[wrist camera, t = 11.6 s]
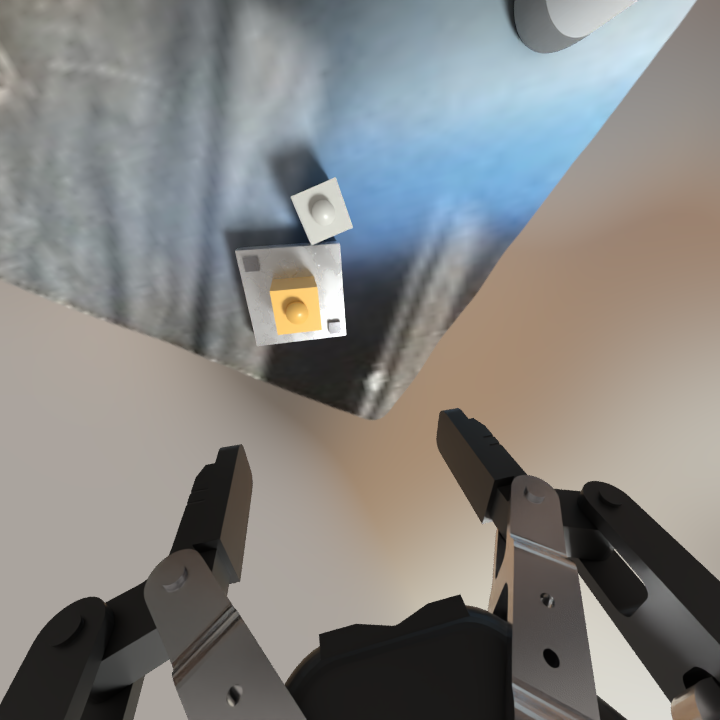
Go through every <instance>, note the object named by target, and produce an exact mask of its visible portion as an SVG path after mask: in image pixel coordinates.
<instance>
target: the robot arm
mask: <svg viewBox="0 0 720 720" xmlns="http://www.w3.org/2000/svg"><path fill="white" fill-rule="evenodd" d="M436 439H437V446H438V449H439V451H440V453H441V455H442V457H443V458H444V460H445V462H446V463H447V465H448V467H449V469H450V470H451V472H452V474H453V475H454V477H455V479H456V480H457V482H458V484H459V485H460V487H461V489H462V490H463V492H464V494H465V495H466V497H467V499H468V500H469V502H470V504H471V506H472V507H473V509H474V511H475V512H476V514H477V516H478V517H479V519H480V521H481V522H482V523H483V524H484V523H488V522H492V521H493V522H494V524H495V525H496V527H497V530H496V538H495V553H494V568H493V581H492V589H491V594H490V599H489V605H488V611H486V610H483V609H480V608H477V607H473V606H466V605H465V604H464V602H463V599H462V597H461V595H457V596H453V597H449V598H446V599H443V600H439V601H435V602H432V603H428V604H427V605H425V606H424V607H422V608H421V609H419V610H418V611H417V612H415V613H414V614H412V615H411V616H410V617H408V618H407V619H405V620H404V621H402V622H401V623H400V624H398V625H396V626H383V625H366V624H354V625H350V626H347V627H343V628H340V629H336V630H333V631H330V632H326V633H322V634H319V640H320V646H319V647H318V648H316V649H315V650H313V651H312V652H311V653H310V654H309V655H308V656H307V657H306V658H304V659H303V660H302V662H301V663H300V664H299V665H298V666H297V667H296V669H295V670H294V671H293V673H292V674H291V675H290V677H289V678H288V680H287V682H286V683H285V685H284V683H283V682H282V680H281V679H280V677H279V676H278V674H277V673H276V671H275V669H274V668H273V666H272V665H271V663H270V661H269V660H268V658H267V657H266V655H265V654H264V652H263V650H262V649H261V647H260V646H259V644H258V643H257V641H256V639H255V638H254V636H253V635H252V633H251V632H250V630H249V628H248V627H247V625H246V624H245V622H244V621H243V619H242V618H241V616H240V615H239V613H238V612H237V610H236V609H235V608H234V607H233V605H232V604H231V602H230V600H229V599H228V597H227V593H228V587H229V584H231V583H236V582H240V578H241V571H242V563H243V555H244V548H245V540H246V533H247V524H248V518H249V510H250V502H251V495H252V486H253V485H252V484H253V483H252V482H253V481H252V473H251V470H250V466H249V463H248V460H247V457H246V453H245V450H244V447H243V445H242V444H241V445H235V446H229V447H223V448H220V449H219V452H218V455H217V459H216V462H215V463H214V464H208V465H205V467H204V468H203V469H202V470H201V472H200V473H199V474H198V476H197V477H196V479H195V481H194V485H193V487H192V490H191V494H190V496H189V499H188V502H187V506H186V508H185V511H184V514H183V517H182V520H181V523H180V525H179V528H178V532H177V535H176V537H175V540H174V543H173V546H172V549H171V551H170V554H169V556H168V557H166V558H165V559H164V560H162V561H161V562H160V563H159V564H158V565H157V566H156V567H155V569H154V570H153V571H152V572H151V574H150V576H149V577H148V579H147V580H146V581H144V582H143V583H141V584H139V585H138V586H136V587H134V588H132V589H130V590H128V591H126V592H125V593H123V594H121V595H119V596H117V597H115V598H113V599H111V600H110V601H108V602H106V603H105V602H104V601H103V600H101V599H100V598H97V597H87V598H83V599H80V600H78V601H76V602H74V603H72V604H70V605H69V606H67V607H66V608H64V609H63V610H62V611H60V612H59V613H58V614H57V615H55V616H54V617H53V618H52V619H51V620H50V621H49V622H48V623H47V624H46V625H45V627H44V628H43V629H42V630H41V632H40V633H39V634H38V636H37V638H36V639H35V641H34V642H33V644H32V646H31V648H30V650H29V651H28V653H27V655H26V657H25V659H24V661H23V663H22V665H21V666H20V668H19V670H18V672H17V674H16V676H15V678H14V680H13V682H12V683H11V685H10V687H9V689H8V691H7V693H6V695H5V696H4V698H3V700H2V702H1V704H0V720H133V719H134V715H135V711H136V707H137V703H138V699H139V696H140V692H141V688H142V684H143V680H144V677H145V674H147V673H149V672H150V671H152V670H153V669H155V668H157V667H158V666H160V665H161V664H163V663H164V662H166V661H167V660H169V659H170V661H171V664H172V667H173V672H172V677H173V681H174V685H175V687H176V690H177V692H178V695H179V697H180V700H181V702H182V705H183V707H184V710H185V712H186V715H187V717H188V720H627V719H626V718H624V717H623V716H622V715H621V714H620V713H618V712H617V711H616V710H615V709H613V708H612V707H611V706H610V705H609V704H607V703H606V702H605V701H603V700H602V699H601V698H600V697H599V696H597V695H596V689H595V682H594V676H593V669H592V663H591V656H590V649H589V643H588V636H587V629H586V623H585V616H584V610H583V603H582V596H581V590H580V583H579V577H578V573H579V575H580V576H581V578H582V579H583V580H584V582H585V583H586V585H587V586H588V587H589V589H590V590H591V592H592V593H593V594H594V596H595V597H596V599H597V600H598V601H599V603H600V604H601V606H602V607H603V608H604V610H605V611H606V613H607V614H608V615H609V617H610V618H611V620H612V621H613V622H614V624H615V625H616V627H617V628H618V629H619V631H620V632H621V633H622V635H623V636H624V638H625V639H626V641H627V642H628V643H629V645H630V646H631V647H632V649H633V650H634V652H635V653H636V655H637V656H638V657H639V659H640V660H641V661H642V663H643V664H644V666H645V667H646V669H647V670H648V671H649V673H650V674H651V676H652V677H653V678H654V680H655V681H656V683H657V684H658V685H659V687H660V688H661V690H662V691H663V692H664V694H665V695H666V697H667V698H668V699H669V701H670V702H671V714H672V718H673V720H720V581H719V580H718V579H717V578H716V577H714V575H712V574H711V573H710V572H709V571H708V570H707V569H706V568H705V567H704V566H703V565H702V564H701V563H700V562H699V561H697V560H696V559H695V558H694V557H693V556H692V555H691V554H690V553H689V552H688V551H687V550H685V548H683V546H681V545H680V544H679V543H678V542H677V541H676V540H675V539H674V538H673V537H672V536H671V535H670V534H669V533H668V532H666V531H665V530H664V529H663V528H662V527H661V526H660V525H659V524H658V523H657V522H656V521H655V520H654V519H652V518H651V517H650V516H649V515H648V514H647V513H646V512H645V511H644V510H643V509H641V507H640V506H639V505H637V503H635V502H634V501H633V500H632V499H631V498H630V497H629V496H628V495H627V494H625V493H624V492H623V491H621V490H620V489H618V488H616V487H614V486H612V485H610V484H607V483H604V482H599V481H591V482H588V483H586V484H585V485H584V487H583V489H582V490H581V491H570V490H560V489H553V488H552V487H551V486H550V485H549V484H548V483H547V482H545V481H543V480H542V479H539V478H537V477H534V476H530V475H527V474H526V473H525V472H524V471H523V469H522V468H521V467H520V466H519V465H518V464H517V462H516V461H515V460H514V459H513V458H512V457H511V455H510V454H509V453H508V452H507V451H506V450H505V449H504V447H503V446H502V445H500V444H499V442H498V440H497V439H496V438H495V437H493V435H492V433H491V432H490V431H489V430H488V429H487V428H486V426H485V425H483V424H481V423H480V422H478V421H477V420H475V419H474V418H471V419H468V418H467V417H466V415H465V414H464V413H463V412H462V410H460V409H459V408H456V409H450V410H444V411H441V412H440V414H439V421H438V430H437V438H436ZM614 549H616V551H617V552H618V553H619V554H620V555H621V556H622V557H623V559H624V560H625V561H626V562H627V563H628V564H629V565H630V567H631V568H632V569H633V570H634V571H635V572H636V574H637V575H638V576H639V577H640V578H641V579H642V581H643V582H644V584H645V586H644V584H643V583H642V582H641V581H640V579H639V578H638V577H637V576H636V575H635V574H634V573H633V571H632V570H631V569H630V568H629V567H628V566H627V564H626V563H625V562H624V561H623V560H622V559H621V557H620V556H619V555H618V554H617V553H616V552H615V551H614Z"/></svg>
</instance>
